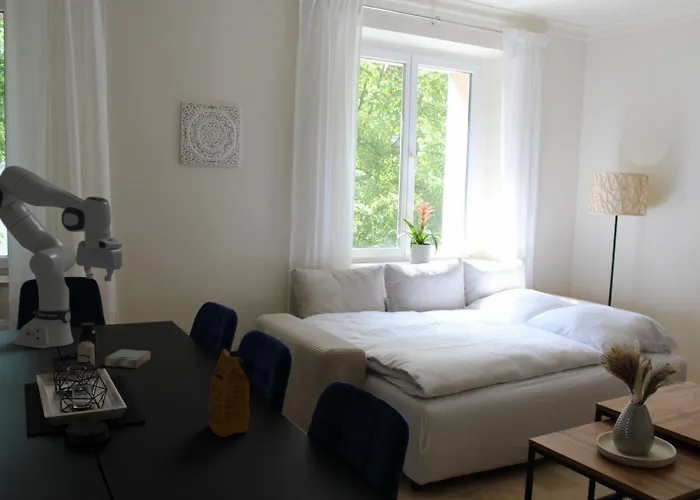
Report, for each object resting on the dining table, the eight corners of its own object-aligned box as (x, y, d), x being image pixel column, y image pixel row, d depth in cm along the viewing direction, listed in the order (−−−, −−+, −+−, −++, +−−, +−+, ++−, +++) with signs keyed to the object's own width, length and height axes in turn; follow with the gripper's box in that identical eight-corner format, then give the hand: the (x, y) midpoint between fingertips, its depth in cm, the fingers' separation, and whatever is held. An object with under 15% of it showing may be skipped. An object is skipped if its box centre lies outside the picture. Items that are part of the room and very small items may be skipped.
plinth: (105, 365, 238) (105, 356, 238) (120, 356, 250) (120, 348, 250) (136, 367, 237) (136, 359, 236) (150, 359, 249) (150, 350, 248)
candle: (88, 372, 229) (88, 344, 228) (74, 370, 230) (74, 343, 229) (97, 368, 235) (97, 340, 234) (83, 366, 236) (83, 339, 235)
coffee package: (236, 419, 192) (238, 345, 189) (252, 434, 181) (254, 356, 178) (203, 424, 187) (205, 349, 184) (217, 440, 176) (219, 360, 174)
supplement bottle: (100, 352, 254) (100, 322, 253) (92, 357, 248) (92, 326, 246) (84, 351, 255) (84, 321, 254) (75, 356, 248) (74, 325, 247)
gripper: (71, 240, 238) (72, 278, 240) (110, 244, 229) (111, 283, 230) (85, 239, 244) (86, 276, 245) (124, 243, 234) (125, 281, 236)
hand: (98, 279), depth 238 cm, fingers open, 8 cm apart
